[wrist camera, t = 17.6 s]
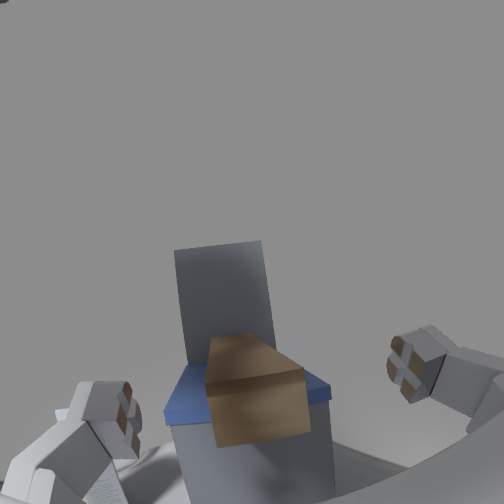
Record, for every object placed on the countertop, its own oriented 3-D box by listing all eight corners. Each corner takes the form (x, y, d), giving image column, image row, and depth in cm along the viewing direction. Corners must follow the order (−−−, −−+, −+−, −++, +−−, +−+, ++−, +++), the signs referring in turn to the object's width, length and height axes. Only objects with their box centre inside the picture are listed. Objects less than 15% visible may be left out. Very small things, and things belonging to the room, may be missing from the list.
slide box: (217, 448, 11) (204, 383, 11) (215, 365, 30) (211, 337, 31) (311, 431, 11) (303, 367, 12) (253, 360, 31) (249, 332, 31)
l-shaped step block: (209, 562, 13) (138, 201, 18) (209, 450, 37) (180, 261, 42) (338, 538, 15) (299, 185, 20) (280, 439, 38) (254, 252, 43)
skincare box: (86, 500, 21) (53, 409, 23) (118, 494, 23) (90, 404, 25) (99, 528, 16) (58, 426, 18) (137, 519, 19) (102, 420, 21)
